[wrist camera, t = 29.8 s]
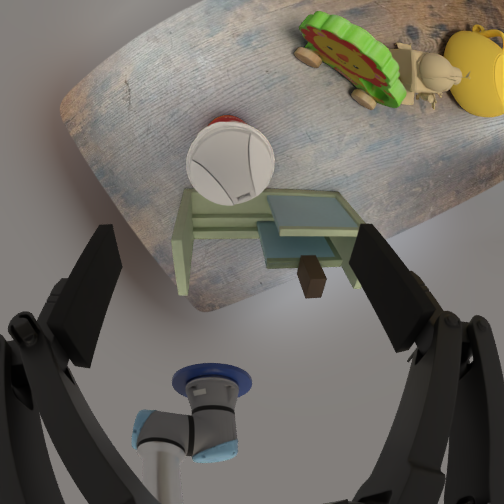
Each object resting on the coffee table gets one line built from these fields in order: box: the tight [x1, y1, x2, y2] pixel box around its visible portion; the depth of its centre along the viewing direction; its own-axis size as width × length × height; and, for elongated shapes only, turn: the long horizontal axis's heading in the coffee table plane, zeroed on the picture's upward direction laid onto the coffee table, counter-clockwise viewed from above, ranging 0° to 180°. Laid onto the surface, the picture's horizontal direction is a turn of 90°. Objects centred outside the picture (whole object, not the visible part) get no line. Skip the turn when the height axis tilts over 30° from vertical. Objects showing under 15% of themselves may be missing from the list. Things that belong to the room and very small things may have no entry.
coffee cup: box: [186, 115, 275, 206], centre depth 30 cm, size 8×8×15 cm
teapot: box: [444, 25, 504, 117], centre depth 24 cm, size 20×19×13 cm
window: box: [257, 221, 343, 298], centre depth 37 cm, size 3×10×15 cm, turn 86°
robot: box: [389, 42, 470, 110], centre depth 25 cm, size 10×8×15 cm
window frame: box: [171, 188, 366, 295], centre depth 38 cm, size 8×24×14 cm, turn 86°
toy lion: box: [294, 11, 407, 110], centre depth 24 cm, size 16×5×15 cm, turn 59°
